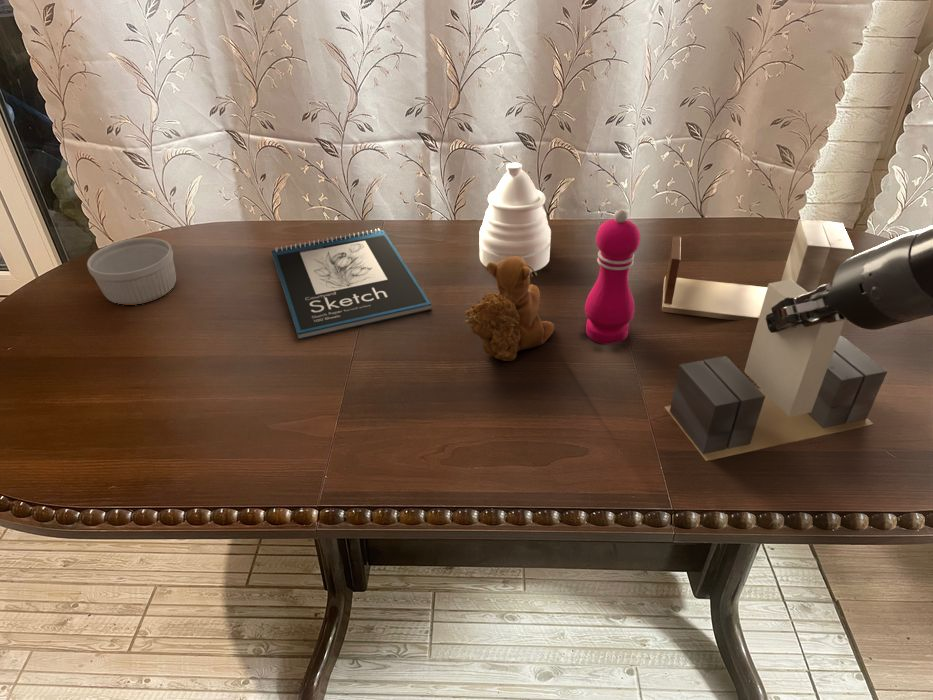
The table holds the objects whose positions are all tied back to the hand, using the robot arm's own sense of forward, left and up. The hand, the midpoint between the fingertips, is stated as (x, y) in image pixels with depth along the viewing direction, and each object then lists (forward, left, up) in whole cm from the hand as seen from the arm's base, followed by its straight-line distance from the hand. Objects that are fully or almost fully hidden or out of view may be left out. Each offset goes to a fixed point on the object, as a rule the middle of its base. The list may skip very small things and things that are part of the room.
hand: (784, 321), depth 76 cm
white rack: (-19, -18, -14) cm, 30 cm away
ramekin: (+61, -79, -14) cm, 101 cm away
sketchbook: (+30, -62, -14) cm, 70 cm away
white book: (+1, +2, -9) cm, 9 cm away
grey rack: (+1, +2, -14) cm, 14 cm away
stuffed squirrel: (+18, -30, -14) cm, 38 cm away
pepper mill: (+4, -24, -14) cm, 28 cm away
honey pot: (+1, -52, -14) cm, 54 cm away
